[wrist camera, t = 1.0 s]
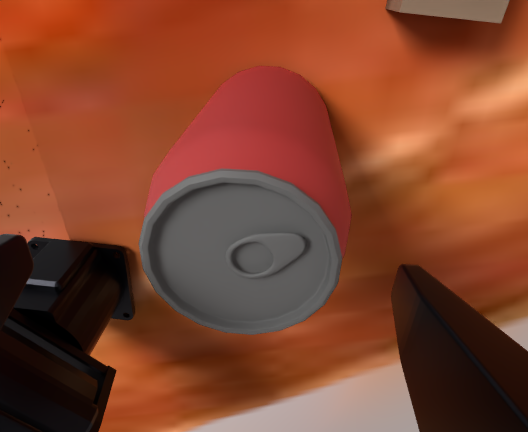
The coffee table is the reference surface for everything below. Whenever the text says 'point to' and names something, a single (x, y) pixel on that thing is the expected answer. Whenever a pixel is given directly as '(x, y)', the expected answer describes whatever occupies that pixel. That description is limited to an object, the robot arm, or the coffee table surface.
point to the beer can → (249, 208)
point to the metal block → (453, 8)
